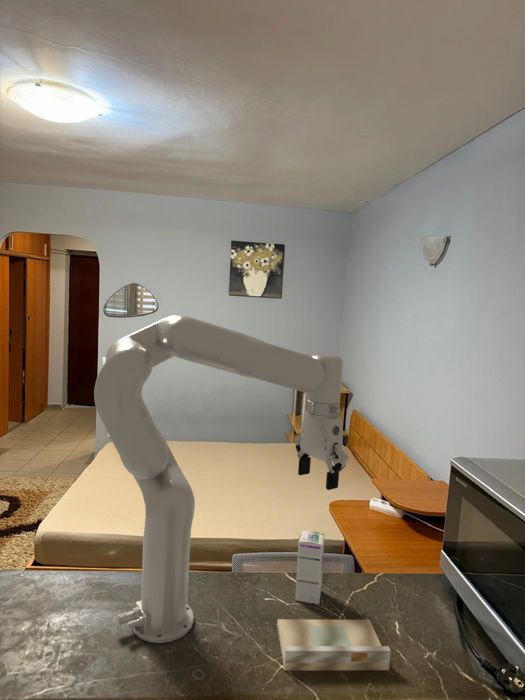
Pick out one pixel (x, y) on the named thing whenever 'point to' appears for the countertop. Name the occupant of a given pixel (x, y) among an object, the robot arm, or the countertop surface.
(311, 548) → the syrup box
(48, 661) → the countertop surface
